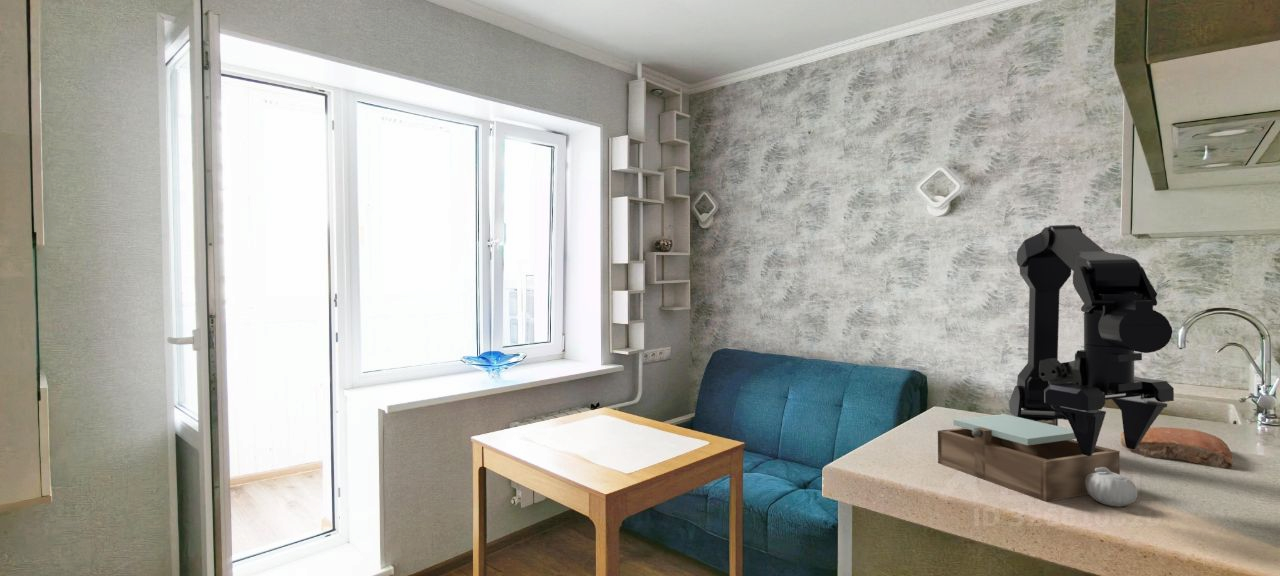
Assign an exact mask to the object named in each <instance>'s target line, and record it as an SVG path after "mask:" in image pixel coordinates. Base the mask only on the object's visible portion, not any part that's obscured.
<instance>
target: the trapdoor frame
mask: <svg viewBox="0 0 1280 576" xmlns="http://www.w3.org/2000/svg"><path fill="white" fill-rule="evenodd" d="M1037 422H1042V423H1046V424H1051V425H1055V426H1056V422H1055V421H1054V420H1050V421H1045V420H1040V421H1037ZM1120 457H1121V456H1120V450H1117V449H1112V448H1107V447H1104V446H1099V445H1096V446H1095V449H1094V451H1093V454H1092V456H1086V455H1083V454H1082V452H1081V450H1080V447H1079V445H1078V442H1077V440H1076V439H1071V440H1064V441H1056V442H1049V443H1042V444H1034V445H1024V444H1021V443H1017V442H1013V441H1010V440H1006V439H1002V438H999V437H995V436H992V430H989V429H985V428H974V430H969V429H966V428H962V427H959V428H958V427H957V428H949V429H941V430H937V463H938V464H940V465H942V466H946V467H949V468H950V469H953V470H956V471H960V472H962V473H965V474H969V475H971V476H973V477H976V478H979V479H983V480H984V481H987V482H990V483H993V484H996V485H999V486H1001V487H1005V488H1007V489H1009V490H1013V491H1016V492H1018V493H1022V494H1024V495H1027V496H1030V497H1033V498H1035V499H1037V500H1041V501H1043V502H1051V501H1055V500H1056V501H1057V500H1063V499H1067V498H1074V497H1079V496H1085V495H1090V494H1089V493H1088V491H1087V489H1086V485H1085V479H1086V476H1087V475H1088V474H1091V473H1096V471H1095V468H1100V467H1105V468H1108V469H1109V470H1110V471H1111V472H1113V473H1117V474H1119V475H1121V474H1120V473H1121V471H1120V470H1121V469H1120V467H1121V464H1120V460H1121V459H1120ZM1099 472H1106V471H1099Z"/></svg>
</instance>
